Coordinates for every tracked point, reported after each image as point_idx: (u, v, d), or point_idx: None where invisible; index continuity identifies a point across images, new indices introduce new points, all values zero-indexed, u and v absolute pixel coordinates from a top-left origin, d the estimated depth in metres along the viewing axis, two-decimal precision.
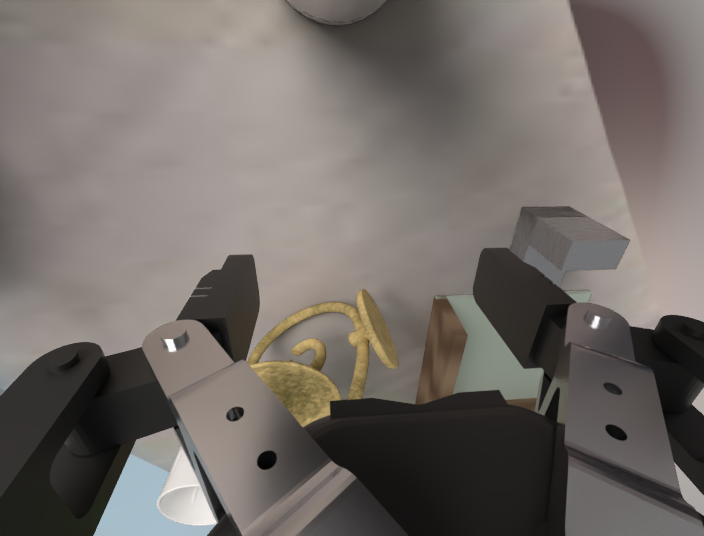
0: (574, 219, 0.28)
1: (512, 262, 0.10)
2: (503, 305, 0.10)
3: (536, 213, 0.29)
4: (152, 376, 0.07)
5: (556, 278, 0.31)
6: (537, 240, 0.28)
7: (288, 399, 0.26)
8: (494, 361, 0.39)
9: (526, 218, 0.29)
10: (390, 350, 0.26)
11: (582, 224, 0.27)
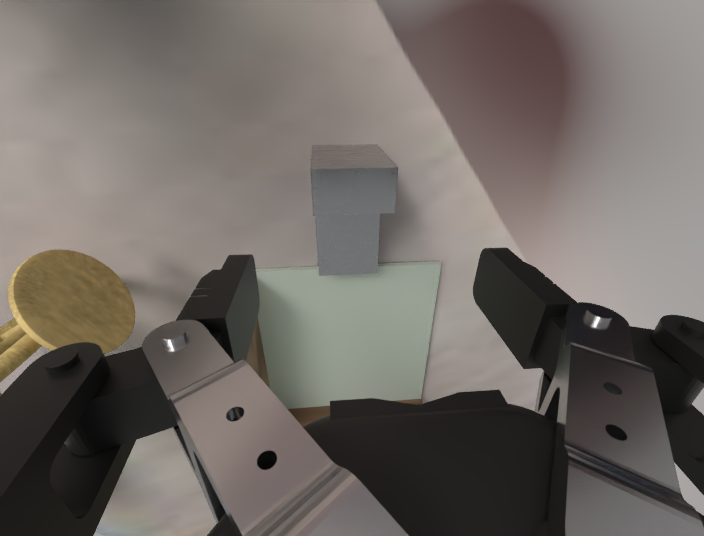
0: (359, 153, 0.21)
1: (512, 262, 0.10)
2: (503, 305, 0.10)
3: (318, 149, 0.22)
4: (152, 376, 0.07)
5: (370, 240, 0.24)
6: None
7: None
8: (342, 354, 0.32)
9: None
10: (85, 331, 0.19)
11: (360, 156, 0.20)
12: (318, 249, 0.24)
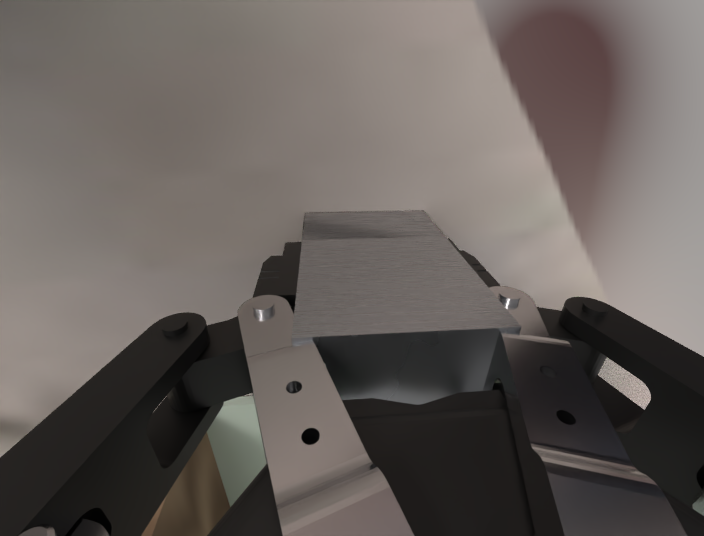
0: (400, 244, 0.10)
1: None
2: None
3: (316, 228, 0.11)
4: (241, 338, 0.08)
5: None
6: None
7: None
8: None
9: None
10: None
11: (406, 260, 0.09)
12: None
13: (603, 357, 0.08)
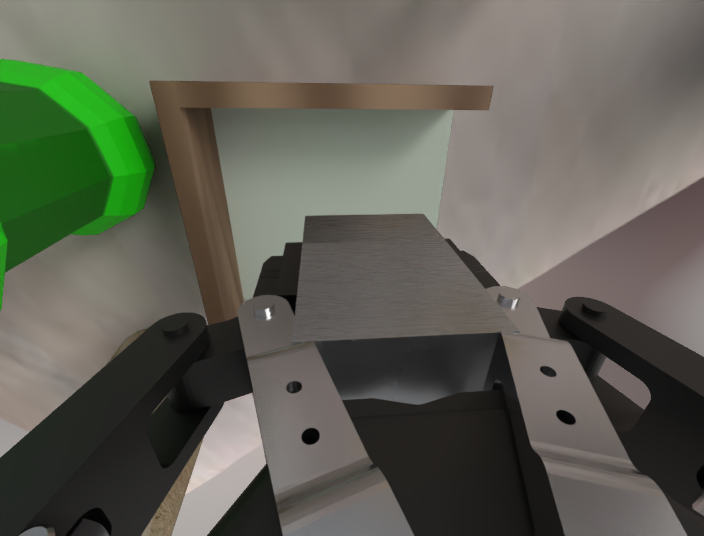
0: (400, 248, 0.10)
1: None
2: None
3: (316, 231, 0.11)
4: (241, 338, 0.08)
5: None
6: None
7: None
8: (322, 207, 0.26)
9: None
10: None
11: (406, 264, 0.09)
12: None
13: (603, 357, 0.08)
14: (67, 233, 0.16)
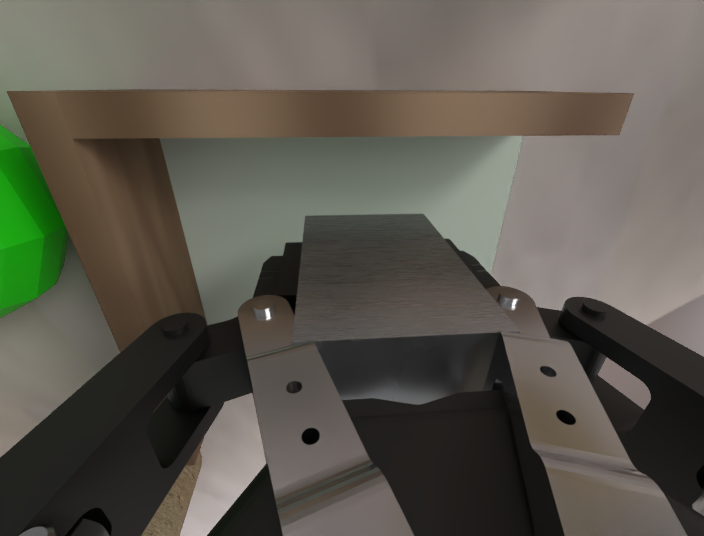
0: (400, 248, 0.10)
1: None
2: None
3: (316, 231, 0.11)
4: (241, 338, 0.08)
5: None
6: None
7: None
8: None
9: None
10: None
11: (406, 264, 0.09)
12: None
13: (603, 357, 0.08)
14: None
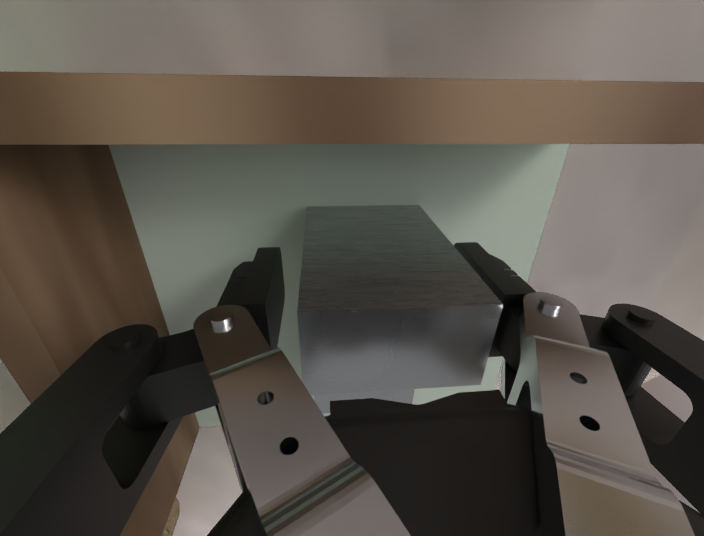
0: (396, 235, 0.11)
1: (479, 255, 0.11)
2: None
3: (317, 220, 0.12)
4: (199, 353, 0.07)
5: None
6: None
7: None
8: None
9: None
10: None
11: (401, 248, 0.10)
12: None
13: (650, 366, 0.08)
14: None
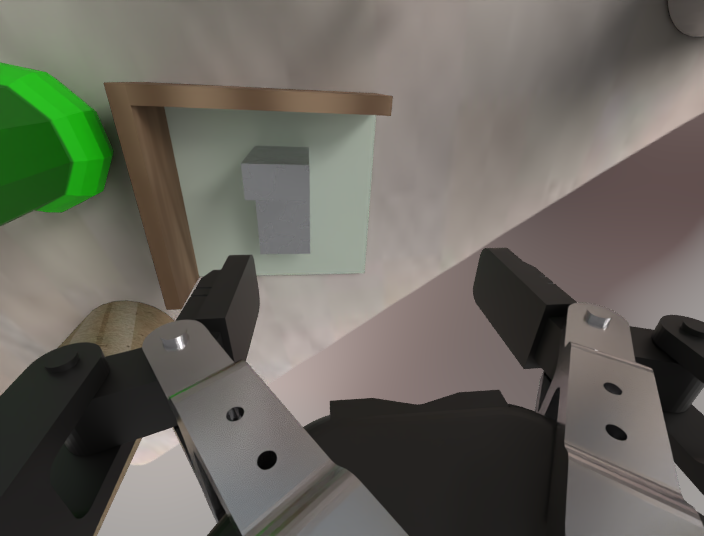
0: (288, 153, 0.26)
1: (512, 262, 0.10)
2: (503, 305, 0.10)
3: (257, 149, 0.27)
4: (152, 376, 0.07)
5: (302, 225, 0.29)
6: None
7: None
8: None
9: None
10: None
11: (287, 155, 0.25)
12: (259, 231, 0.29)
13: None
14: (32, 207, 0.20)
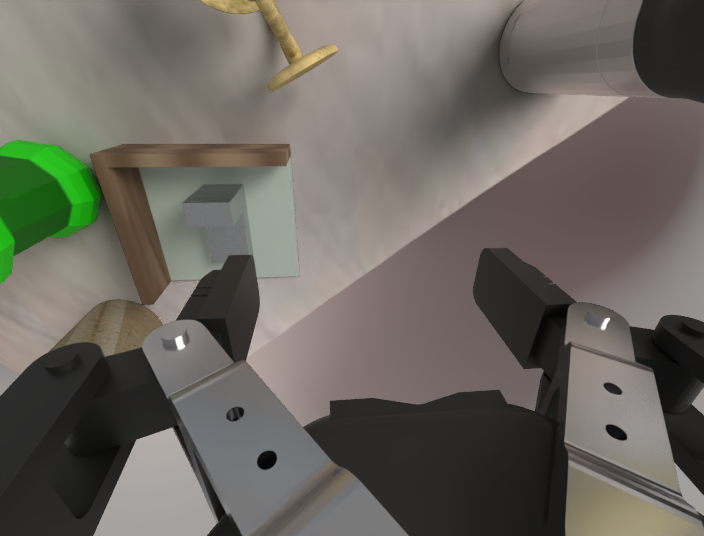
0: (223, 191, 0.36)
1: (512, 262, 0.10)
2: (503, 305, 0.10)
3: (203, 187, 0.37)
4: (152, 376, 0.07)
5: (241, 241, 0.40)
6: None
7: None
8: None
9: None
10: (290, 79, 0.27)
11: (220, 194, 0.35)
12: (209, 246, 0.40)
13: None
14: (45, 236, 0.31)
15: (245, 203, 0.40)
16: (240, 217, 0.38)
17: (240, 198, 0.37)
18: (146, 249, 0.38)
